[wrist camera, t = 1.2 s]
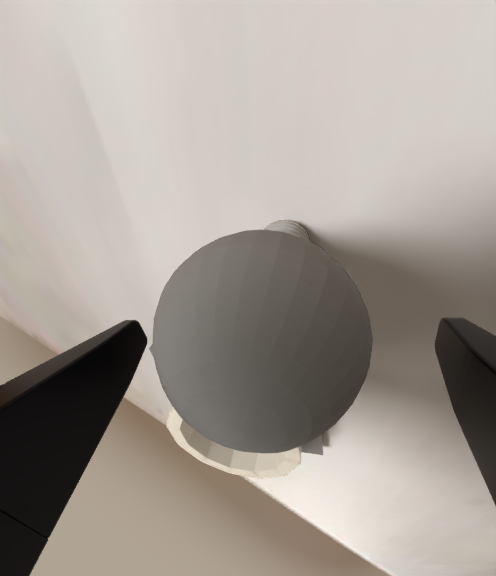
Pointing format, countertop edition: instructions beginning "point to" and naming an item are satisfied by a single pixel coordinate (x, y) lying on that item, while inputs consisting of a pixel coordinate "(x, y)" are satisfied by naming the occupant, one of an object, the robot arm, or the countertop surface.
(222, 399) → the light bulb
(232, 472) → the socket
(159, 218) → the countertop surface
